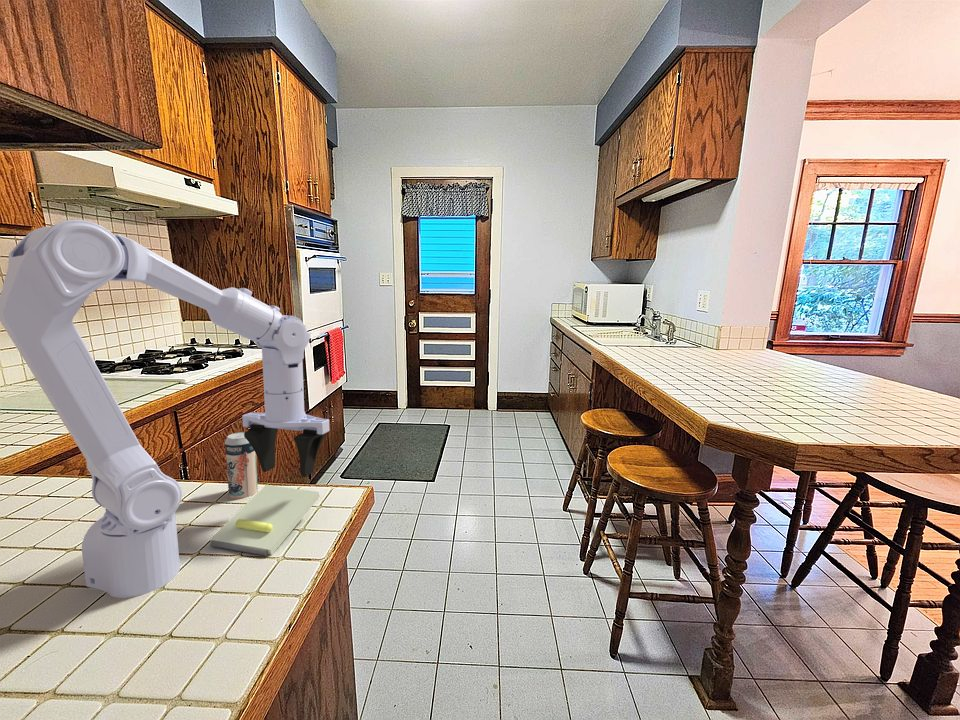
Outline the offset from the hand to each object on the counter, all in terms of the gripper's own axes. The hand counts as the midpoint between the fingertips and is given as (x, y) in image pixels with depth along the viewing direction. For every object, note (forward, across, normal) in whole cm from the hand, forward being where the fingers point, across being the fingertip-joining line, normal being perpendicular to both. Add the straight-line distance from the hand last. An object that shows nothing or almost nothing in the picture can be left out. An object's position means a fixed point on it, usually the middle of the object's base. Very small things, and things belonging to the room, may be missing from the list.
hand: (287, 471), depth 68 cm
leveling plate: (+6, 0, +5) cm, 8 cm away
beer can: (+9, +13, -4) cm, 16 cm away
